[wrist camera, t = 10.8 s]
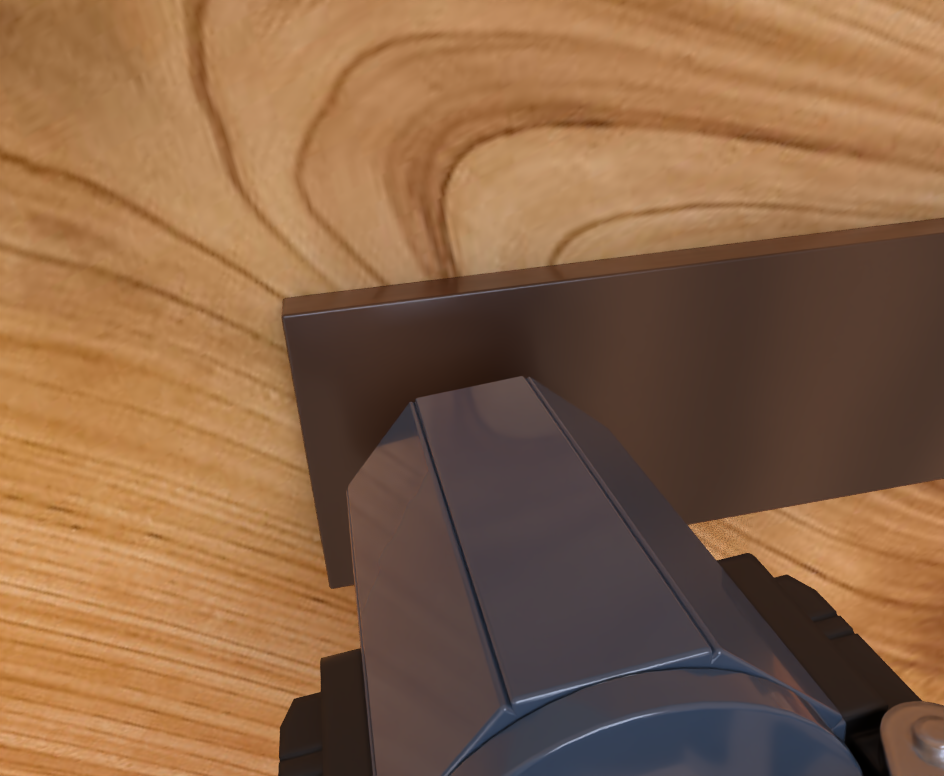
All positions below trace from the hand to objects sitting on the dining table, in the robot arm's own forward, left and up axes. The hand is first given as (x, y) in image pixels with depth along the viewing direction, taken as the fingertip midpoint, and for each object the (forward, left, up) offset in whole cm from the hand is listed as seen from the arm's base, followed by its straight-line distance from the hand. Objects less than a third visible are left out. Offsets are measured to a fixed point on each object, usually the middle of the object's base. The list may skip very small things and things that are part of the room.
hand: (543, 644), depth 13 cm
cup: (0, 0, -5) cm, 5 cm away
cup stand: (+5, +5, -9) cm, 12 cm away
